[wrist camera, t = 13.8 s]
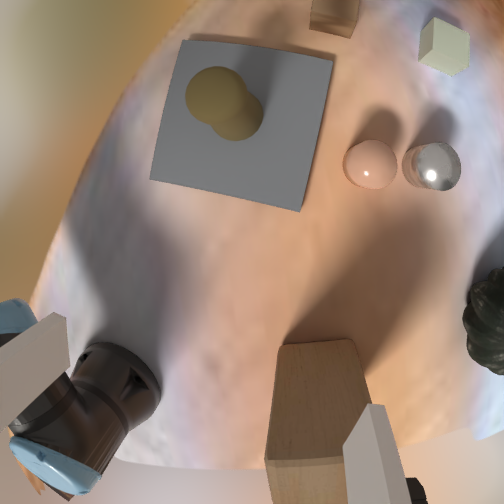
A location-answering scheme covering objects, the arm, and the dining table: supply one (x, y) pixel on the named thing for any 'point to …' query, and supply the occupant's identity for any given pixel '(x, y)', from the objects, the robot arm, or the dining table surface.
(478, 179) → the dining table surface
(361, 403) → the wooden block
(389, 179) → the peach rounded capsule
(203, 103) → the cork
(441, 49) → the sage block
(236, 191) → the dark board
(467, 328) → the squash
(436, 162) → the metal tin
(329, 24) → the walnut block
